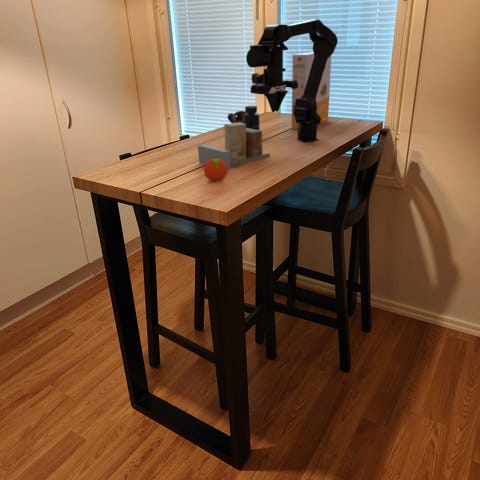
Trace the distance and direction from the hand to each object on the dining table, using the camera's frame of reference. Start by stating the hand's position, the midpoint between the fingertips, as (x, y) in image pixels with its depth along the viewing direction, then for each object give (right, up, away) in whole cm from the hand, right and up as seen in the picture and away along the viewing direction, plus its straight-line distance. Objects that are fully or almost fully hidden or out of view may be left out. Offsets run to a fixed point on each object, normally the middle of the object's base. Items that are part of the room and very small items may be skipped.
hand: (274, 111), depth 154 cm
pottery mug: (-13, +5, +41) cm, 44 cm away
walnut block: (-9, -17, -4) cm, 19 cm away
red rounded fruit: (-19, -29, -27) cm, 44 cm away
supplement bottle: (-8, -3, +24) cm, 26 cm away
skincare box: (-14, -19, -7) cm, 24 cm away
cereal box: (+19, +6, +40) cm, 44 cm away
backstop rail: (-14, -19, -7) cm, 24 cm away
